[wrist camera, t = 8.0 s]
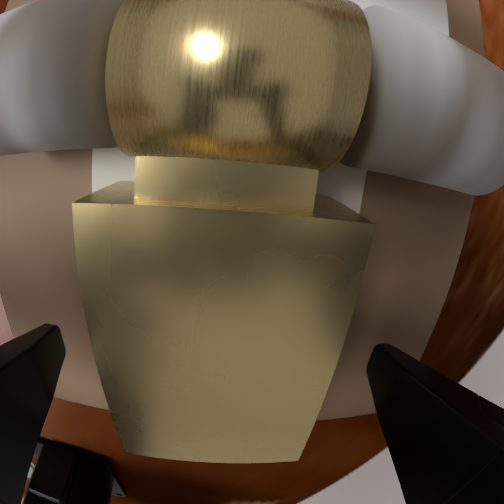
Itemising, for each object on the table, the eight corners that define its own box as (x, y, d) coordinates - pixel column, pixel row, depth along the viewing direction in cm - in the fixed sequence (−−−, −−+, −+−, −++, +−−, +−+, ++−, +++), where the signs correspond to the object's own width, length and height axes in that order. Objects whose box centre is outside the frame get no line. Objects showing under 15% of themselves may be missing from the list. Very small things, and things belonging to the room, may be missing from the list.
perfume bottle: (285, 402, 11) (303, 483, 8) (139, 394, 11) (120, 474, 7) (346, 41, 7) (420, -8, 3) (137, 21, 6) (82, -42, 3)
